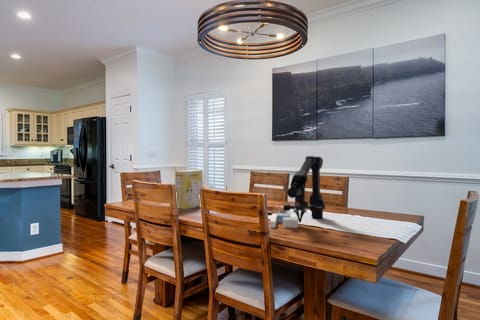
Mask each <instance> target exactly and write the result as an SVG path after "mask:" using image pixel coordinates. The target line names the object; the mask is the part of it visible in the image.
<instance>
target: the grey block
mask: <svg viewBox="0 0 480 320" xmlns="http://www.w3.org/2000/svg"><path fill="white" fill-rule="evenodd" d="M282 226H283V228H285V229H286V228H292V229H293V228H295V229H296V228H299V220H298V217H295V216H290V217H283V223H282Z"/></svg>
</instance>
